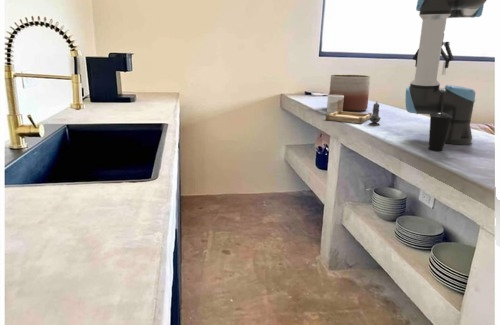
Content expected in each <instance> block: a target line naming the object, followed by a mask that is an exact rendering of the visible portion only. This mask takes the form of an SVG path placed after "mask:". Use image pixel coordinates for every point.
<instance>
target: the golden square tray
mask: <svg viewBox="0 0 500 325" xmlns="http://www.w3.org/2000/svg"><path fill="white" fill-rule="evenodd" d="M372 114H373V112H368V113H364V112H362V113H361V112H345V111H341V110H337V111H336V112H334V113H331V114H328V113H326V114H325V120H326V121H330V122H331V121H332V122H343V123H350V124H360V125H361V124H365V122H367V121H370V118H369V117H371V116H372Z"/></svg>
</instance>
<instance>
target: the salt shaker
mask: <svg viewBox="0 0 500 325" xmlns="http://www.w3.org/2000/svg"><path fill="white" fill-rule="evenodd" d="M379 115H380V104H379V103H378V101H375V103H374V104H373V106H372V116H371V117H369V118H370V120H369V121H370V123H368V124H369V125H371V126H379V125H380V123H379V122H380V121H381V119H382V118H381V117H380V116H379Z"/></svg>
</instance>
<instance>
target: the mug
mask: <svg viewBox="0 0 500 325" xmlns="http://www.w3.org/2000/svg"><path fill="white" fill-rule="evenodd" d="M326 103H327V105H326V114H331V113H334V112H336V111H337V110H341V111H343V105H344V96H343V95H329V94H328V95H327V102H326Z"/></svg>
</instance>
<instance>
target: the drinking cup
mask: <svg viewBox="0 0 500 325" xmlns="http://www.w3.org/2000/svg"><path fill="white" fill-rule="evenodd" d="M444 100H445V99H444V98H443V100H442V106H441V112H436V113H433V114H430V115H429V117H430V119H429V133H428V134H429V136H428V137H429V138H428V150H429V151H433V152H442V151H443V149H444V145H445V143H444V142H445V139H446V135H447V131H448V128H449V124H450V120H451V118H452V116H451V115H449V114H447V113H445V112H443V106H444Z"/></svg>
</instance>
